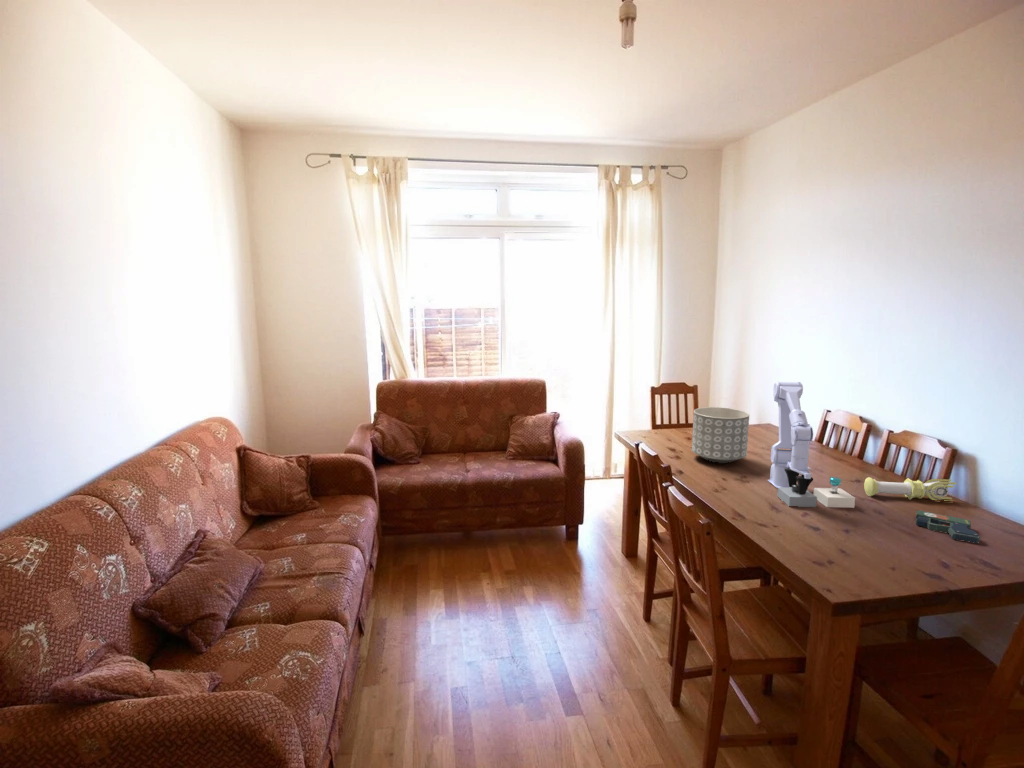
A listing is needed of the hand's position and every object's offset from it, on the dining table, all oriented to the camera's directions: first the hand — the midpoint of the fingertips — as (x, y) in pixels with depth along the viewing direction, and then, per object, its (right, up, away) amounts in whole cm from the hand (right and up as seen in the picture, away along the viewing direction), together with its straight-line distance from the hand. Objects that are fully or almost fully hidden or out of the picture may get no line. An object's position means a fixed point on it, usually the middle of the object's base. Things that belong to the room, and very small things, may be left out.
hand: (797, 490), depth 200 cm
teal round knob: (+14, -1, -1) cm, 14 cm away
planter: (-9, +4, +54) cm, 55 cm away
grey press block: (0, -5, +1) cm, 5 cm away
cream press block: (+14, -5, 0) cm, 15 cm away
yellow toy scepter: (+46, -4, +4) cm, 46 cm away
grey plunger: (0, -4, +1) cm, 4 cm away
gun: (+37, -9, -25) cm, 45 cm away
